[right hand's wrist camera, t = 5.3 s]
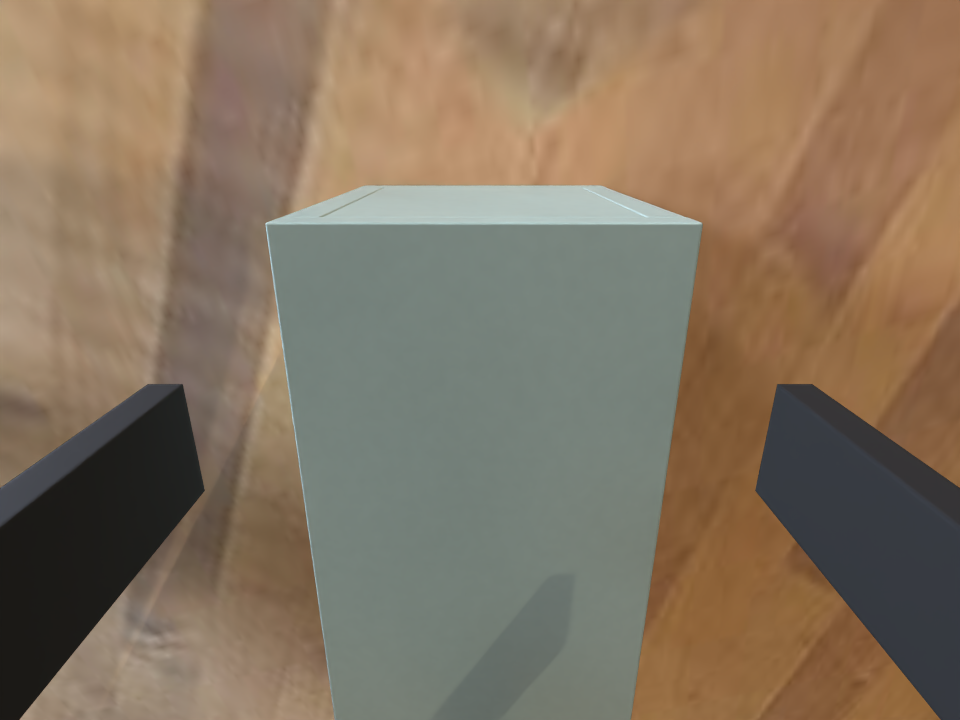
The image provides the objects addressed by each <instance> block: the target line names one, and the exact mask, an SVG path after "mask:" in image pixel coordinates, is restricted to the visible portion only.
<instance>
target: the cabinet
mask: <svg viewBox="0 0 960 720" xmlns="http://www.w3.org/2000/svg"><path fill="white" fill-rule="evenodd" d="M702 226H703V224H702V223H701V222H698V221H696V220H693V219H690V218H687V217H684V216H681V215H678V214H675V213H673V212H670V211H667V210H665V209H662V208H659V207H657V206H654V205H651V204H648V203H646V202H643V201H640V200H638V199H635V198H632V197H630V196H627V195H624V194H621V193H619V192H616V191H613V190H611V189H608V188H606V187H603V186H362V187H360V188H358V189H355V190H352V191H350V192H347V193H344V194H342V195H339V196H336V197H334V198H331V199H329V200H326V201H323V202H321V203H318V204H315V205H313V206H310V207H307V208H305V209H302V210H300V211H297V212H294V213H292V214H289V215H286V216H284V217H280V218H278V219H275V220H272V221H270V222H267V223H266V231H267V238H268V245H269V252H270V260H271V267H272V274H273V281H274V288H275V295H276V302H277V310H278V317H279V324H280V331H281V338H282V345H283V352H284V360H285V367H286V374H287V381H288V388H289V395H290V402H291V410H292V417H293V424H294V431H295V438H296V445H297V452H298V460H299V467H300V474H301V481H302V488H303V495H304V503H305V510H306V517H307V524H308V531H309V538H310V545H311V553H312V560H313V567H314V574H315V581H316V588H317V595H318V603H319V610H320V617H321V624H322V631H323V638H324V645H325V653H326V660H327V667H328V674H329V681H330V688H331V696H332V703H333V710H334V717H335V720H631V715H632V708H633V701H634V694H635V687H636V680H637V674H638V667H639V660H640V653H641V646H642V639H643V632H644V625H645V619H646V612H647V605H648V598H649V591H650V584H651V577H652V570H653V564H654V557H655V550H656V543H657V536H658V529H659V522H660V515H661V509H662V502H663V495H664V488H665V481H666V474H667V467H668V460H669V453H670V447H671V440H672V433H673V426H674V419H675V412H676V405H677V398H678V392H679V385H680V378H681V371H682V364H683V357H684V350H685V343H686V337H687V330H688V323H689V316H690V309H691V302H692V295H693V288H694V281H695V275H696V268H697V261H698V254H699V247H700V240H701V233H702Z"/></svg>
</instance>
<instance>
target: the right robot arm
mask: <svg viewBox="0 0 960 720" xmlns="http://www.w3.org/2000/svg"><path fill="white" fill-rule="evenodd" d="M204 491H205V490H204V485H203V480H202V475H201V471H200V466H199V461H198V456H197V451H196V446H195V442H194V437H193V432H192V427H191V422H190V418H189V413H188V408H187V403H186V398H185V393H184V389H183V384H148V385H146V386H145V387H143V388H142V389H140V390H139V391H138V392H136V393H135V394H133V395H132V396H131V397H129V398H128V399H126V400H125V401H123V402H122V403H121V404H119V405H118V406H116V407H115V408H113V409H112V410H111V411H109V412H108V413H106V414H105V415H104V416H102V417H101V418H99V419H98V420H96V421H95V422H94V423H92V424H91V425H89V426H88V427H86V428H85V429H84V430H82V431H81V432H79V433H78V434H76V435H75V436H74V437H72V438H71V439H69V440H68V441H67V442H65V443H64V444H62V445H61V446H59V447H58V448H57V449H55V450H54V451H52V452H51V453H49V454H48V455H47V456H45V457H44V458H42V459H41V460H40V461H38V462H37V463H35V464H34V465H32V466H31V467H30V468H28V469H27V470H25V471H24V472H22V473H21V474H20V475H18V476H17V477H15V478H14V479H13V480H11V481H10V482H8V483H7V484H5V485H4V486H3V487H1V488H0V720H19V719H20V718H21V717H22V716H23V714H24V713H25V712H26V711H27V709H28V708H29V707H30V706H31V704H32V703H33V702H34V701H35V700H36V698H37V697H38V696H39V695H40V693H41V692H42V691H43V690H44V688H45V687H46V686H47V685H48V683H49V682H50V681H51V680H52V679H53V677H54V676H55V675H56V674H57V672H58V671H59V670H60V669H61V667H62V666H63V665H64V664H65V662H66V661H67V660H68V659H69V658H70V656H71V655H72V654H73V653H74V651H75V650H76V649H77V648H78V646H79V645H80V644H81V643H82V641H83V640H84V639H85V638H86V637H87V635H88V634H89V633H90V632H91V630H92V629H93V628H94V627H95V625H96V624H97V623H98V622H99V620H100V619H101V618H102V617H103V616H104V614H105V613H106V612H107V611H108V609H109V608H110V607H111V606H112V604H113V603H114V602H115V601H116V600H117V598H118V597H119V596H120V595H121V593H122V592H123V591H124V590H125V588H126V587H127V586H128V585H129V583H130V582H131V581H132V580H133V579H134V577H135V576H136V575H137V574H138V572H139V571H140V570H141V569H142V567H143V566H144V565H145V564H146V562H147V561H148V560H149V559H150V558H151V556H152V555H153V554H154V553H155V551H156V550H157V549H158V548H159V546H160V545H161V544H162V543H163V541H164V540H165V539H166V538H167V537H168V535H169V534H170V533H171V532H172V530H173V529H174V528H175V527H176V525H177V524H178V523H179V522H180V520H181V519H182V518H183V517H184V516H185V514H186V513H187V512H188V511H189V509H190V508H191V507H192V506H193V504H194V503H195V502H196V501H197V499H198V498H199V497H200V496H201V495H202V493H203V492H204ZM755 491H756V492H757V493H758V495H759V496H760V497H761V498H762V499H763V501H764V502H765V503H766V504H767V506H768V507H769V508H770V509H771V511H772V512H773V513H774V514H775V516H776V517H777V518H778V519H779V520H780V522H781V523H782V524H783V525H784V527H785V528H786V529H787V530H788V532H789V533H790V534H791V535H792V537H793V538H794V539H795V540H796V541H797V543H798V544H799V545H800V546H801V548H802V549H803V550H804V551H805V553H806V554H807V555H808V556H809V558H810V559H811V560H812V561H813V562H814V564H815V565H816V566H817V567H818V569H819V570H820V571H821V572H822V574H823V575H824V576H825V577H826V579H827V580H828V581H829V582H830V583H831V585H832V586H833V587H834V588H835V590H836V591H837V592H838V593H839V595H840V596H841V597H842V598H843V600H844V601H845V602H846V603H847V604H848V606H849V607H850V608H851V609H852V611H853V612H854V613H855V614H856V616H857V617H858V618H859V619H860V620H861V622H862V623H863V624H864V625H865V627H866V628H867V629H868V630H869V632H870V633H871V634H872V635H873V637H874V638H875V639H876V640H877V641H878V643H879V644H880V645H881V646H882V648H883V649H884V650H885V651H886V653H887V654H888V655H889V656H890V658H891V659H892V660H893V661H894V662H895V664H896V665H897V666H898V667H899V669H900V670H901V671H902V672H903V674H904V675H905V676H906V677H907V679H908V680H909V681H910V682H911V683H912V685H913V686H914V687H915V688H916V690H917V691H918V692H919V693H920V695H921V696H922V697H923V698H924V700H925V701H926V702H927V703H928V704H929V706H930V707H931V708H932V709H933V711H934V712H935V713H936V714H937V716H938V717H939V718H940V719H941V720H960V488H959V487H957V486H956V485H955V484H953V483H952V482H950V481H949V480H947V479H946V478H945V477H943V476H942V475H940V474H939V473H938V472H936V471H935V470H933V469H932V468H930V467H929V466H928V465H926V464H925V463H923V462H922V461H920V460H919V459H918V458H916V457H915V456H913V455H912V454H911V453H909V452H908V451H906V450H905V449H903V448H902V447H901V446H899V445H898V444H896V443H895V442H893V441H892V440H891V439H889V438H888V437H886V436H885V435H884V434H882V433H881V432H879V431H878V430H876V429H875V428H874V427H872V426H871V425H869V424H868V423H866V422H865V421H864V420H862V419H861V418H859V417H858V416H856V415H855V414H854V413H852V412H851V411H849V410H848V409H847V408H845V407H844V406H842V405H841V404H839V403H838V402H837V401H835V400H834V399H832V398H831V397H829V396H828V395H827V394H825V393H824V392H822V391H821V390H820V389H818V388H817V387H815V386H814V385H812V384H777V389H776V393H775V398H774V403H773V408H772V413H771V418H770V422H769V427H768V432H767V437H766V442H765V446H764V451H763V456H762V461H761V466H760V471H759V475H758V480H757V485H756V490H755Z"/></svg>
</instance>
